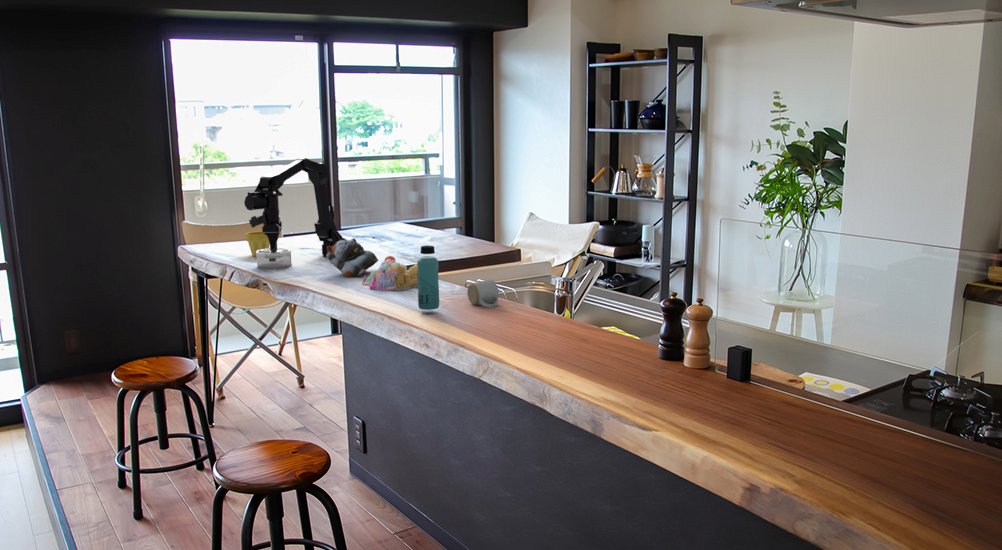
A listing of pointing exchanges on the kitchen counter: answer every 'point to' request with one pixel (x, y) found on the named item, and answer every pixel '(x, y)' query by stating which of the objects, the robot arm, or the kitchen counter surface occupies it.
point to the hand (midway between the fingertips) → (273, 247)
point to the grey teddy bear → (350, 257)
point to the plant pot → (257, 241)
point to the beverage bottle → (428, 280)
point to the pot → (273, 259)
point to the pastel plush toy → (392, 276)
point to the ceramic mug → (483, 293)
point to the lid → (273, 250)
